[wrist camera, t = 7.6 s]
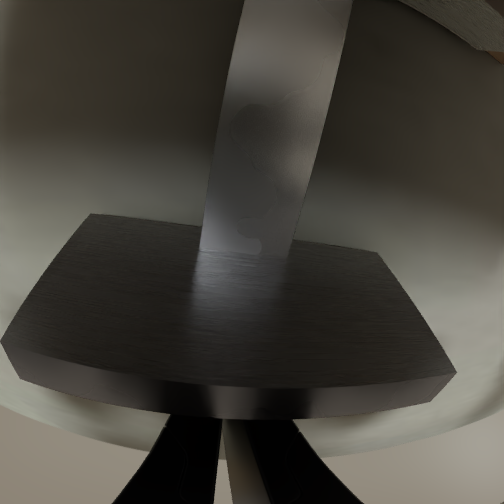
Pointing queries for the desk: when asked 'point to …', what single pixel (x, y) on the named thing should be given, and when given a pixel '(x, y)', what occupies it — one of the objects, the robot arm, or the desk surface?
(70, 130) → the desk surface
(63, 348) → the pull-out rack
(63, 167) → the desk surface
